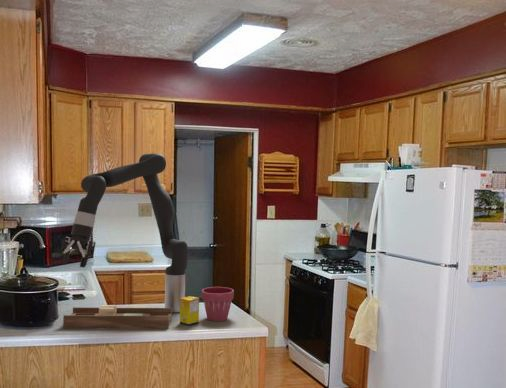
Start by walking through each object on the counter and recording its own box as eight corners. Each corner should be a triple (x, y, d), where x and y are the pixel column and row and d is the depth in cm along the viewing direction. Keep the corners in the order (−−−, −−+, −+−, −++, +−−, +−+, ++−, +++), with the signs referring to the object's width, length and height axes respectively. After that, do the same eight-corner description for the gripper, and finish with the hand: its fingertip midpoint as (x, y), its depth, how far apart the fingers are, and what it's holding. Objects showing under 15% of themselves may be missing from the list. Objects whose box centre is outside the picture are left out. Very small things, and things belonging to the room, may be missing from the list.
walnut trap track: (73, 318, 211) (73, 307, 211) (171, 319, 214) (171, 308, 214) (63, 328, 197) (63, 315, 197) (168, 328, 200) (168, 316, 200)
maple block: (101, 314, 208) (102, 305, 208) (116, 314, 208) (116, 305, 208) (98, 318, 202) (98, 308, 202) (113, 318, 202) (113, 308, 202)
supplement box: (189, 320, 213) (189, 295, 213) (199, 323, 209) (199, 297, 209) (179, 323, 208) (179, 297, 208) (188, 326, 205) (189, 300, 204)
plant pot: (206, 323, 208) (207, 294, 208) (197, 315, 221) (198, 287, 221) (237, 321, 214) (238, 292, 214) (227, 313, 227) (227, 286, 227)
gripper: (104, 228, 193) (94, 269, 190) (75, 224, 198) (65, 263, 195) (91, 225, 186) (81, 267, 183) (63, 220, 192) (52, 261, 189)
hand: (73, 265), depth 189 cm, fingers open, 8 cm apart
